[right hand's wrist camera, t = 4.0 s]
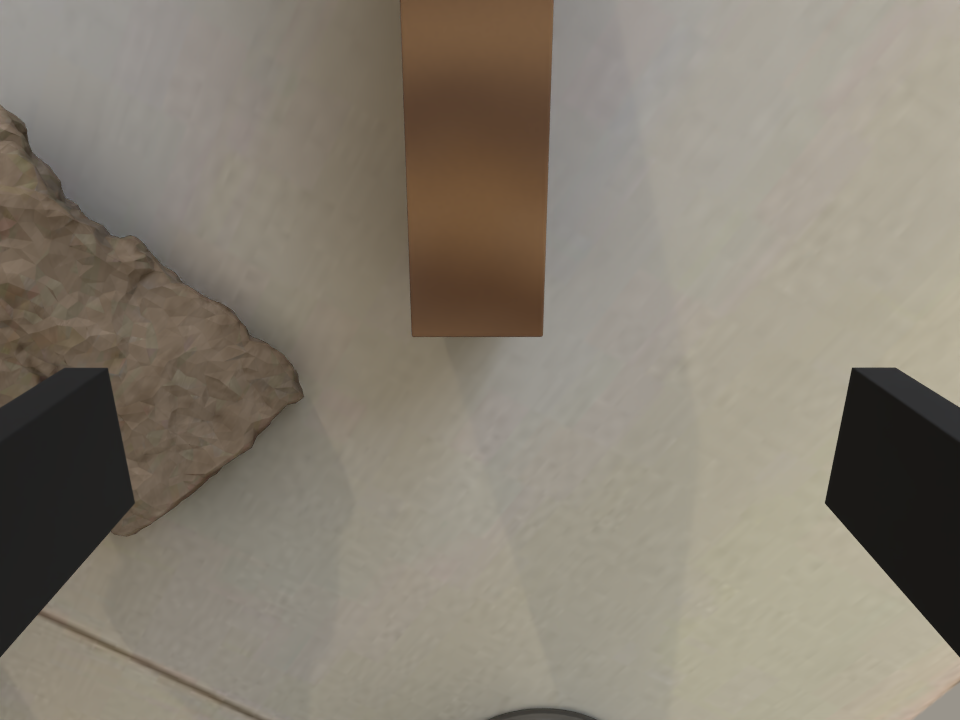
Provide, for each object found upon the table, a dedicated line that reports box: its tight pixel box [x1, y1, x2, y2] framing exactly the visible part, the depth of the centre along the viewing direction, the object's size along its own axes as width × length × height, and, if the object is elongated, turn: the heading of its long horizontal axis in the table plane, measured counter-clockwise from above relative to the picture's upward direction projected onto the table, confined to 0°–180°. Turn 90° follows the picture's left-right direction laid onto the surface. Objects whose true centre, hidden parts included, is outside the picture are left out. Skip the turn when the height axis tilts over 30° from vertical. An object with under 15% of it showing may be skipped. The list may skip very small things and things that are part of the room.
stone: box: [0, 105, 304, 536], centre depth 36 cm, size 21×15×6 cm
